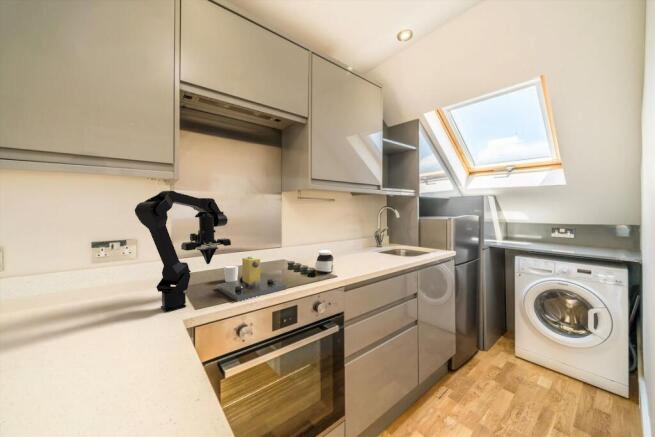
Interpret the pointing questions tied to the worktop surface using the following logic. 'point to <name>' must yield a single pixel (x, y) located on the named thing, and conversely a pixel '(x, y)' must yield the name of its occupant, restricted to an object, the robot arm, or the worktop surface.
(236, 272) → the white cup
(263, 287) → the tribrach plate
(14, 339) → the worktop surface
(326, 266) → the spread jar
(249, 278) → the yellow rectangular block
